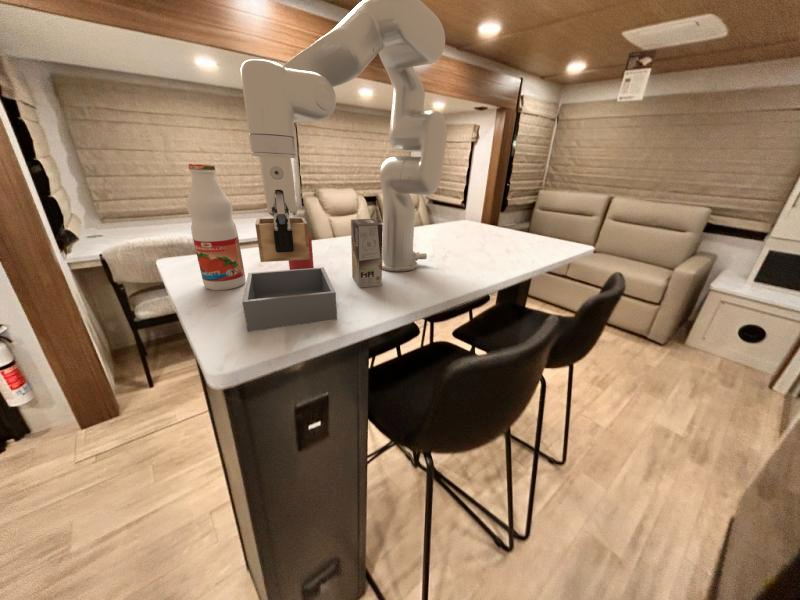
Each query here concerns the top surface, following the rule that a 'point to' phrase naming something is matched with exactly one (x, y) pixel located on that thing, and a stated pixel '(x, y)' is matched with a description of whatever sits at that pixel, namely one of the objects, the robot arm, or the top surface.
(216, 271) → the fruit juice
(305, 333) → the top surface
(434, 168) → the robot arm
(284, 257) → the small crate
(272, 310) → the big crate
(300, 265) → the beer can
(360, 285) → the coffee box
